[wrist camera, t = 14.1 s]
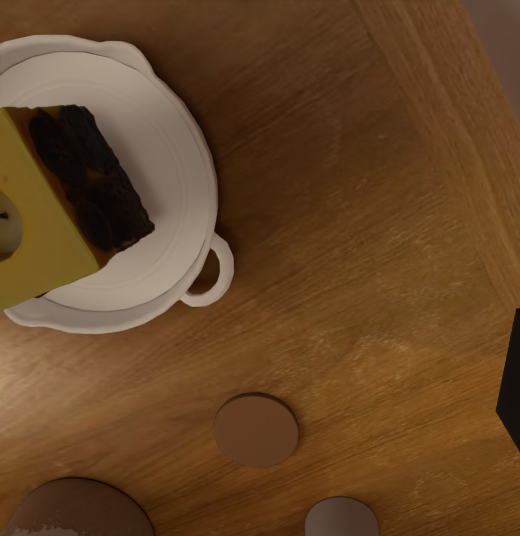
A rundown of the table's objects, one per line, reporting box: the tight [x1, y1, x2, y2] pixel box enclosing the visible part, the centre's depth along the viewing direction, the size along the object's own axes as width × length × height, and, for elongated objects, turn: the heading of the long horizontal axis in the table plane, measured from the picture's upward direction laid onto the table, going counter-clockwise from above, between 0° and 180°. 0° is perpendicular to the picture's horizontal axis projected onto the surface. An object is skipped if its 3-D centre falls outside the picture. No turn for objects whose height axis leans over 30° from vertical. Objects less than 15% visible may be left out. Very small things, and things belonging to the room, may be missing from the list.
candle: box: [0, 104, 155, 311], centre depth 33 cm, size 10×10×10 cm
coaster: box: [214, 393, 299, 468], centre depth 47 cm, size 8×8×1 cm
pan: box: [0, 35, 234, 334], centre depth 39 cm, size 24×27×4 cm
